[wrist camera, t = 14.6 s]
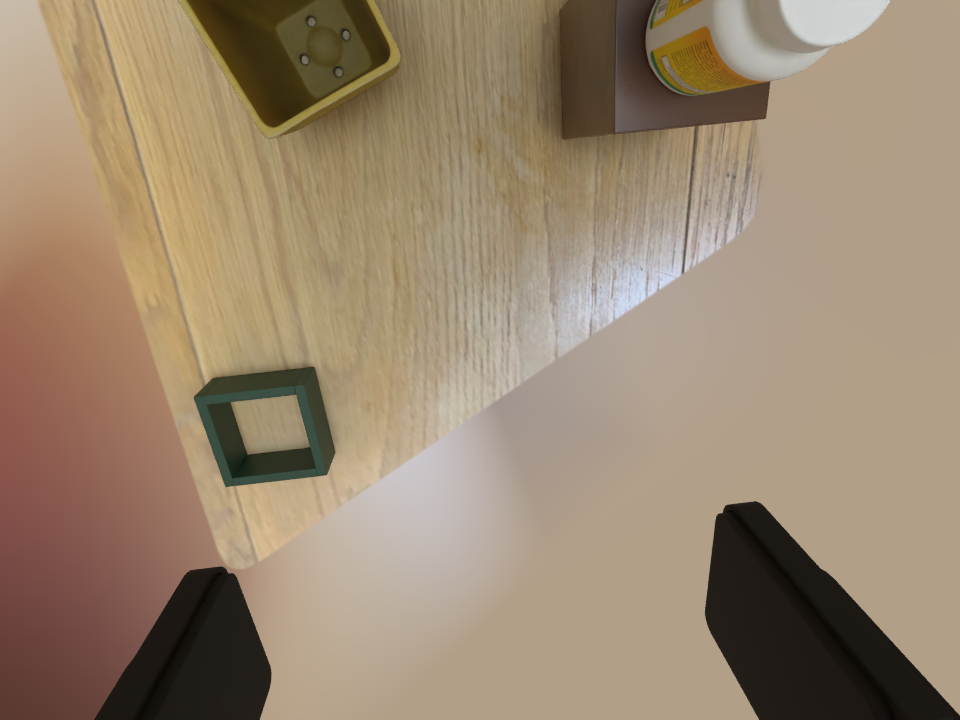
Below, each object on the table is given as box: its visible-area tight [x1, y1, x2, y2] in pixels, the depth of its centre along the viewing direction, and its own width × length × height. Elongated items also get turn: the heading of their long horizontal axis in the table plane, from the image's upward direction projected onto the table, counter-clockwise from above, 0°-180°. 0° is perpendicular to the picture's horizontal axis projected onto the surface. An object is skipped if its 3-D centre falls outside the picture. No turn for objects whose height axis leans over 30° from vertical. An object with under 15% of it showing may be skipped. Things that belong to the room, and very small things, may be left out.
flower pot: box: [178, 0, 401, 139], centre depth 29 cm, size 9×9×9 cm
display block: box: [560, 0, 770, 139], centre depth 30 cm, size 8×8×12 cm
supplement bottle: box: [646, 0, 891, 96], centre depth 20 cm, size 5×5×10 cm
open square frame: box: [194, 367, 335, 487], centre depth 42 cm, size 9×9×4 cm
